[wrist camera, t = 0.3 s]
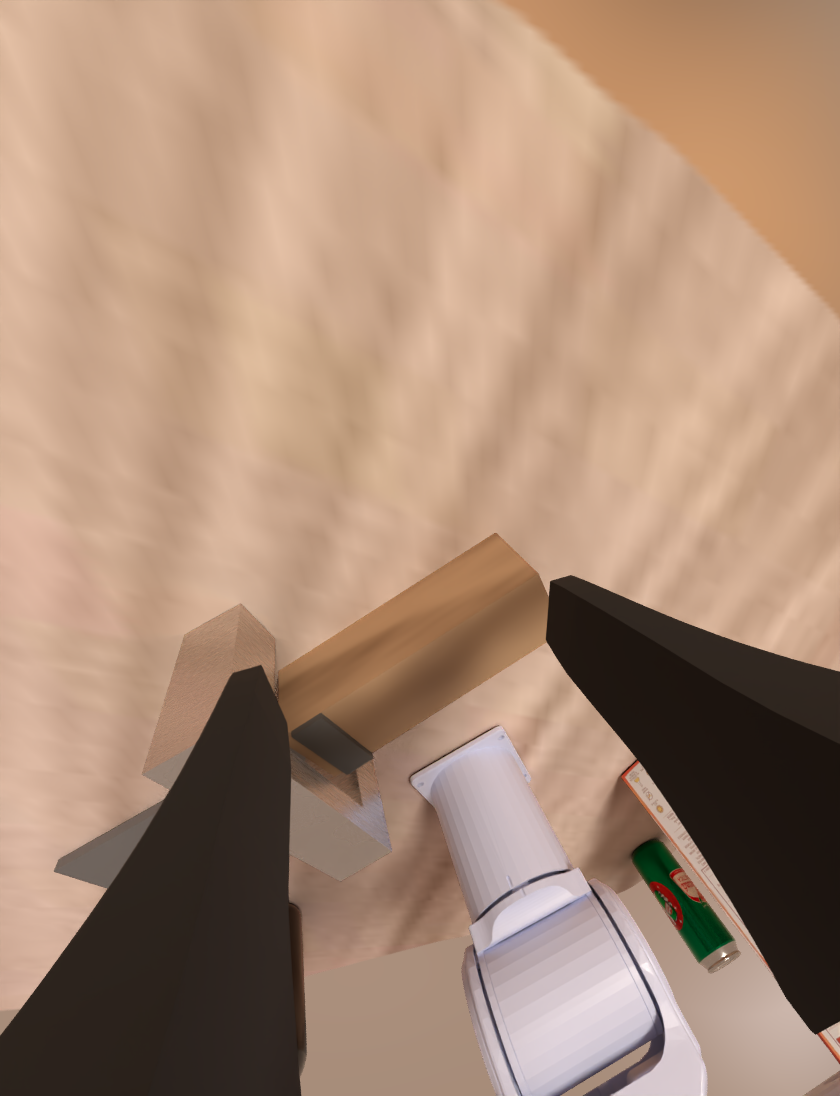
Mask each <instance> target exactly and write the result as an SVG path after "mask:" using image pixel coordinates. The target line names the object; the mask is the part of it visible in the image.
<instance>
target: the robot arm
mask: <svg viewBox="0 0 840 1096" xmlns="http://www.w3.org/2000/svg"><path fill="white" fill-rule="evenodd" d="M546 641H547V643H548V645H549V646H550V648H551V649H552V651H553V653H554V654H555V656H556V658H557V659H558V661H559V662H560V664H561V665H562V667H563V668H564V670H565V671H566V673H567V674H568V675H569V677H570V678H571V679H572V680H573V682H574V683H575V684H576V685H577V687H578V688H579V689H580V690H581V691H582V693H583V694H584V695H585V696H586V698H587V699H588V700H589V701H590V702H591V704H592V705H593V706H594V707H595V708H596V710H597V711H598V712H599V713H600V714H601V716H602V717H603V718H604V719H605V720H606V722H607V723H608V724H609V725H610V726H611V728H612V729H613V730H614V731H615V732H616V734H617V735H618V736H619V737H620V738H621V740H622V741H623V742H624V743H625V744H626V746H627V747H628V748H629V749H630V751H631V752H632V753H633V755H634V756H635V757H636V758H637V760H638V761H639V762H640V764H641V765H642V766H643V768H644V769H645V771H646V772H647V773H648V775H649V776H650V778H651V779H652V781H653V782H654V784H655V785H656V786H657V788H658V789H659V791H660V792H661V794H662V795H663V797H664V798H665V799H666V801H667V802H668V804H669V805H670V807H671V808H672V810H673V811H674V813H675V814H676V816H677V817H678V819H679V820H680V822H681V823H682V825H683V826H684V828H685V830H686V831H687V833H688V834H689V836H690V837H691V839H692V840H693V842H694V843H695V845H696V846H697V848H698V849H699V851H700V852H701V854H702V856H703V857H704V859H705V861H706V862H707V864H708V865H709V867H710V869H711V870H712V872H713V873H714V875H715V877H716V878H717V880H718V882H719V883H720V885H721V886H722V888H723V890H724V891H725V893H726V894H727V896H728V898H729V899H730V901H731V903H732V904H733V906H734V908H735V909H736V911H737V913H738V914H739V916H740V918H741V920H742V921H743V923H744V925H745V927H746V928H747V930H748V932H749V933H750V935H751V937H752V939H753V940H754V942H755V944H756V945H757V947H758V949H759V951H760V952H761V954H762V956H763V957H764V959H765V961H766V963H767V964H768V966H769V968H770V970H771V972H772V973H773V975H774V977H775V979H776V981H777V982H778V984H779V986H780V988H781V990H782V992H783V993H784V995H785V997H786V999H787V1000H788V1001H789V1002H790V1004H791V1005H792V1006H793V1008H794V1009H795V1010H796V1012H797V1013H798V1014H799V1015H800V1017H801V1018H802V1020H803V1021H804V1022H805V1024H806V1025H807V1026H808V1028H809V1029H810V1030H811V1031H812V1032H813V1033H814V1034H818V1033H820V1032H822V1031H824V1030H825V1029H827V1028H829V1027H831V1026H833V1025H835V1024H837V1023H838V1022H840V672H839V671H835V670H831V669H827V668H823V667H820V666H816V665H812V664H808V663H804V662H801V661H797V660H794V659H790V658H787V657H783V656H780V655H777V654H774V653H771V652H767V651H764V650H761V649H758V648H755V647H752V646H748V645H745V644H742V643H739V642H736V641H733V640H730V639H727V638H725V637H722V636H719V635H716V634H714V633H711V632H708V631H706V630H703V629H700V628H698V627H695V626H692V625H690V624H687V623H684V622H682V621H679V620H677V619H674V618H672V617H669V616H667V615H665V614H662V613H660V612H657V611H655V610H653V609H650V608H648V607H645V606H643V605H641V604H638V603H636V602H634V601H631V600H629V599H627V598H625V597H622V596H620V595H618V594H615V593H613V592H611V591H609V590H606V589H604V588H602V587H599V586H597V585H595V584H592V583H590V582H587V581H585V580H583V579H580V578H577V577H575V576H572V575H570V576H566V577H563V578H559V579H556V580H553V581H550V591H549V603H548V616H547V629H546ZM410 781H411V784H412V785H413V786H414V787H415V788H416V789H417V791H418V792H419V793H420V794H421V795H422V796H423V797H424V798H425V799H426V800H427V801H428V802H429V803H430V804H431V805H432V806H433V807H434V808H435V809H436V812H437V815H438V819H439V822H440V825H441V828H442V831H443V834H444V837H445V840H446V843H447V847H448V850H449V853H450V856H451V859H452V862H453V865H454V868H455V871H456V875H457V878H458V881H459V884H460V887H461V890H462V893H463V896H464V899H465V903H466V906H467V909H468V912H469V915H470V918H471V921H472V924H471V925H470V926H469V931H470V934H471V937H472V940H473V944H472V945H470V946H469V947H467V948H466V949H465V953H464V954H465V955H464V961H463V964H462V979H463V985H464V990H465V995H466V1000H467V1004H468V1008H469V1012H470V1016H471V1019H472V1023H473V1027H474V1030H475V1034H476V1037H477V1041H478V1044H479V1047H480V1051H481V1054H482V1057H483V1060H484V1063H485V1066H486V1069H487V1072H488V1075H489V1077H490V1080H491V1083H492V1085H493V1088H494V1091H495V1093H496V1095H497V1096H560V1095H562V1094H563V1093H565V1092H567V1091H568V1090H570V1089H572V1088H573V1087H575V1086H577V1085H578V1084H580V1083H581V1082H583V1081H585V1080H586V1079H588V1078H590V1077H591V1076H593V1075H595V1074H596V1073H598V1072H600V1071H601V1070H603V1069H604V1068H606V1067H608V1066H609V1065H611V1064H613V1063H614V1062H616V1061H618V1060H619V1059H621V1058H623V1057H624V1056H626V1055H628V1054H629V1053H631V1052H632V1051H634V1050H636V1049H637V1048H639V1047H641V1046H642V1045H644V1044H646V1043H647V1042H649V1041H651V1044H650V1048H649V1050H648V1052H647V1053H646V1055H644V1057H643V1058H642V1059H641V1060H640V1061H639V1062H637V1063H635V1064H634V1065H632V1066H630V1067H629V1068H627V1069H626V1070H624V1071H622V1072H621V1073H619V1074H617V1075H616V1076H614V1077H612V1078H611V1079H609V1080H608V1081H606V1082H604V1083H603V1084H601V1085H600V1086H598V1087H596V1088H594V1089H593V1090H591V1091H590V1092H588V1093H586V1094H585V1095H583V1096H707V1071H706V1067H705V1064H704V1061H703V1059H702V1058H701V1049H700V1046H699V1044H698V1042H697V1040H696V1038H695V1036H694V1034H693V1033H692V1031H691V1029H690V1027H689V1025H688V1024H687V1022H686V1020H685V1018H684V1016H683V1014H682V1013H681V1011H680V1009H679V1007H678V1005H677V1003H676V1001H675V998H674V995H673V993H672V990H671V988H670V986H669V984H668V982H667V979H666V977H665V975H664V973H663V971H662V969H661V967H660V965H659V963H658V961H657V960H656V958H655V956H654V954H653V952H652V950H651V949H650V947H649V945H648V943H647V941H646V940H645V938H644V936H643V934H642V933H641V931H640V929H639V928H638V926H637V924H636V923H635V921H634V919H633V918H632V916H631V915H630V913H629V912H628V910H627V908H626V907H625V906H624V904H623V903H622V901H621V900H620V898H619V897H618V896H617V894H616V893H615V892H614V891H613V889H612V888H611V887H609V886H608V885H606V884H604V883H602V882H600V881H599V880H598V879H596V878H593V879H591V880H589V881H586V879H585V878H584V876H583V874H582V872H581V870H580V869H579V868H578V867H577V868H575V869H574V868H573V866H572V864H571V862H570V860H569V858H568V856H567V855H566V853H565V851H564V849H563V847H562V845H561V844H560V842H559V840H558V838H557V836H556V834H555V832H554V831H553V829H552V827H551V825H550V823H549V821H548V819H547V818H546V816H545V814H544V812H543V810H542V808H541V807H540V805H539V803H538V801H537V799H536V797H535V795H534V794H533V792H532V790H531V788H530V786H529V784H528V783H529V782H530V781H531V777H530V775H529V773H528V771H527V769H526V768H525V766H524V764H523V762H522V761H521V759H520V757H519V755H518V753H517V752H516V750H515V748H514V746H513V744H512V743H511V741H510V739H509V737H508V736H507V734H506V732H505V730H504V728H503V727H502V726H497V727H495V728H493V729H492V730H490V731H488V732H486V733H485V734H483V735H481V736H479V737H478V738H476V739H474V740H473V741H471V742H469V743H467V744H466V745H464V746H462V747H460V748H459V749H457V750H455V751H454V752H452V753H450V754H448V755H447V756H445V757H443V758H441V759H440V760H438V761H436V762H435V763H433V764H431V765H429V766H428V767H426V768H424V769H423V770H421V771H419V772H417V773H416V774H414V775H413V776H412V777H411V778H410ZM290 808H291V758H290V746H289V736H288V725H287V721H286V719H285V717H284V714H283V712H282V710H281V708H280V705H279V703H278V701H277V699H276V696H275V694H274V692H273V690H272V687H271V685H270V683H269V681H268V678H267V676H266V674H265V672H264V669H263V667H262V665H258V666H255V667H252V668H248V669H245V670H241V671H238V672H234V673H232V675H231V676H230V678H229V679H228V681H227V683H226V685H225V687H224V689H223V691H222V693H221V695H220V697H219V699H218V701H217V703H216V705H215V707H214V709H213V711H212V713H211V715H210V717H209V719H208V721H207V723H206V725H205V727H204V729H203V731H202V733H201V735H200V737H199V739H198V740H197V742H196V744H195V746H194V748H193V750H192V751H191V753H190V755H189V757H188V759H187V761H186V762H185V764H184V766H183V768H182V770H181V772H180V773H179V775H178V777H177V779H176V780H175V782H174V784H173V786H172V787H171V789H170V791H169V792H168V794H167V796H166V797H165V799H164V801H163V802H162V804H161V806H160V807H159V809H158V811H157V812H156V814H155V816H154V817H153V819H152V821H151V822H150V824H149V826H148V827H147V829H146V831H145V832H144V834H143V836H142V837H141V839H140V840H139V842H138V843H137V845H136V847H135V848H134V850H133V851H132V853H131V854H130V856H129V857H128V859H127V861H126V862H125V864H124V865H123V867H122V868H121V870H120V871H119V873H118V874H117V876H116V877H115V879H114V880H113V882H112V883H111V885H110V886H109V887H108V889H107V890H106V892H105V893H104V895H103V896H102V898H101V899H100V901H99V902H98V904H97V905H96V907H95V908H94V909H93V911H92V912H91V914H90V915H89V917H88V918H87V919H86V921H85V922H84V924H83V925H82V926H81V928H80V929H79V930H78V932H77V933H76V935H75V936H74V937H73V939H72V940H71V942H70V943H69V944H68V946H67V947H66V948H65V950H64V951H63V953H62V954H61V955H60V957H59V958H58V960H57V961H56V962H55V964H54V965H53V966H52V968H51V969H50V971H49V972H48V973H47V975H46V976H45V977H44V979H43V980H42V982H41V983H40V984H39V986H38V987H37V988H36V990H35V991H34V992H33V994H32V995H31V996H30V998H29V999H28V1000H27V1002H26V1003H25V1004H24V1005H23V1007H22V1008H21V1009H20V1011H19V1012H18V1013H17V1015H16V1016H15V1017H14V1019H13V1020H12V1021H11V1023H10V1024H9V1025H8V1026H7V1028H6V1029H5V1030H4V1032H3V1033H2V1034H1V1035H0V1096H301V1087H300V1075H299V1063H298V1051H297V1038H296V1023H295V1009H294V995H293V980H292V964H291V946H290V929H289V897H288V881H289V844H290ZM803 1096H840V1071H839V1072H837V1073H836V1074H834V1075H833V1076H831V1077H830V1078H828V1079H827V1080H825V1081H824V1082H822V1083H821V1084H820V1085H818V1086H817V1087H815V1088H814V1089H812V1090H811V1091H809V1092H808V1093H806V1094H805V1095H803Z"/></svg>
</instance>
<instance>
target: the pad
mask: <svg viewBox="0 0 840 1096" xmlns="http://www.w3.org/2000/svg"><path fill="white" fill-rule="evenodd" d="M290 750H291V751H292V752H294V753H295V754H296V755H298V756H299V757H300V758H301V759H303V760H304V761H305V757H304V756H302V755H301V754H299V753H298V752H296V751H295V750H293V749H292V748H290ZM163 801H164V800H163ZM163 801H161V802H159V803H158V804H156V805H154V806H152V807H151V808H149V809H147V810H145V811H144V812H142V813H140V814H138V815H137V816H135V817H133V818H131V819H130V820H128V821H126V822H124V823H123V824H121V825H119V826H117V827H115V828H114V829H112V830H110V831H108V832H107V833H105V834H103V835H101V836H100V837H98V838H96V839H94V840H93V841H91V842H89V843H87V844H86V845H84V846H82V847H80V848H79V849H77V850H75V851H73V852H71V853H70V854H68V855H66V856H64V857H63V858H61V859H59V860H58V862H57V865H56V867H55V870H54V872H56V873H60V874H63V875H66V876H69V877H72V878H76V879H79V880H82V881H85V882H88V883H91V884H95V885H98V886H101V887H104V888H107V889H108V887H109V886H110V885H111V883H112V882H113V880H114V879H115V877H116V876H117V874H118V873H119V871H120V870H121V868H122V867H123V865H124V864H125V862H126V861H127V859H128V857H129V856H130V854H131V853H132V851H133V850H134V848H135V847H136V845H137V843H138V842H139V840H140V839H141V837H142V836H143V834H144V832H145V831H146V829H147V827H148V826H149V824H150V822H151V821H152V819H153V817H154V816H155V814H156V812H157V811H158V809H159V807H160V806H161V804H162V802H163Z"/></svg>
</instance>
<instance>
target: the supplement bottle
mask: <svg viewBox="0 0 840 1096" xmlns="http://www.w3.org/2000/svg"><path fill="white" fill-rule="evenodd" d="M289 929H290V946H291V964H292V980H293V995H294V1009H295V1023H296V1038H297V1051H298V1063H299V1075H300V1076H301V1074H302V1071H303V1068H304V1065H305V1061H306V1055H307V1054H306V1053H307V1050H306V1045H307V1044H306V1020H305V993H304V967H303V942H302V922H301V914H300V911H299V910H298V908H297V907H296V906H294V905H292V904H290V903H289Z"/></svg>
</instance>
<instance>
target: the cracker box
mask: <svg viewBox="0 0 840 1096" xmlns="http://www.w3.org/2000/svg"><path fill="white" fill-rule="evenodd" d="M621 777H622V779H623V780H624V782H625V783H626V784H627V785H628V787H629V788H630V789H631V791H632V792H633V793H634V795H635V796H636V797H637V798H638V800H639V801H640V802H641V804H642V805H643V806H644V808H645V809H646V810H647V812H648V813H649V814H650V816H651V817H652V818H653V819H654V821H655V822H656V823H657V825H658V826H659V827H660V829H661V830H662V831H663V832H664V834H665V835H666V836H667V838H668V839H669V840H670V842H671V843H672V844H673V845H674V847H675V848H676V849H677V851H678V852H679V853H680V855H681V856H682V857H683V859H684V860H685V861H686V862H687V864H688V865H689V866H690V868H691V869H692V870H693V872H694V873H695V874H696V876H697V877H698V878H699V879H700V881H701V882H702V884H703V885H704V886H705V888H706V889H707V890H708V891H709V893H710V894H711V895H712V897H713V898H714V899H715V901H716V902H717V903H718V905H719V906H720V907H721V909H722V910H723V911H724V912H725V914H726V915H727V916H728V918H729V919H730V920H731V921H732V923H733V924H734V925H735V927H736V928H737V929H738V931H739V932H740V933H741V935H742V936H743V937H744V939H745V940H746V941H747V943H748V944H749V945H750V946H751V948H752V949H753V950H754V952H755V953H756V954H757V956H758V957H759V958H760V960H761V961H762V962H763V963H764V965H765V966H766V967H767V969H768V970H769V971H770V973H771V974H772V975H773V973H772V972H771V970H770V968H769V966H768V964H767V963H766V961H765V959H764V957H763V956H762V954H761V952H760V951H759V949H758V947H757V945H756V944H755V942H754V940H753V939H752V937H751V935H750V933H749V932H748V930H747V928H746V927H745V925H744V923H743V921H742V920H741V918H740V916H739V914H738V913H737V911H736V909H735V908H734V906H733V904H732V903H731V901H730V899H729V898H728V896H727V894H726V893H725V891H724V890H723V888H722V886H721V885H720V883H719V882H718V880H717V878H716V877H715V875H714V873H713V872H712V870H711V869H710V867H709V865H708V864H707V862H706V861H705V859H704V857H703V856H702V854H701V852H700V851H699V849H698V848H697V846H696V845H695V843H694V842H693V840H692V839H691V837H690V836H689V834H688V833H687V831H686V830H685V828H684V826H683V825H682V823H681V822H680V820H679V819H678V817H677V816H676V814H675V813H674V811H673V810H672V808H671V807H670V805H669V804H668V802H667V801H666V799H665V798H664V797H663V795H662V794H661V792H660V791H659V789H658V788H657V786H656V785H655V784H654V782H653V781H652V779H651V778H650V776H649V775H648V773H647V772H646V771H645V769H644V768H643V766H642V765H641V764H640V762H639V761H638V760H637V761H636V762H635V763H634V764H633V765H632V766H631V767H630V768H629V769H628V770H627V771H626V772H625V773H624V774H623V775H622V776H621ZM773 977H774V975H773ZM774 978H775V977H774ZM817 1035H818V1036H819V1037H820V1039H821V1040H822V1041H823V1042H824V1044H825V1045H826V1046H827V1047H828V1049H829V1050H830V1052H831V1053H832V1054H833V1056H834V1057H835V1058H836V1060H837V1061H838V1062H839V1064H840V1022H838V1023H837V1024H835V1025H833V1026H831V1027H829V1028H827V1029H825V1030H824V1031H822V1032H820V1033H818V1034H817Z"/></svg>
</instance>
